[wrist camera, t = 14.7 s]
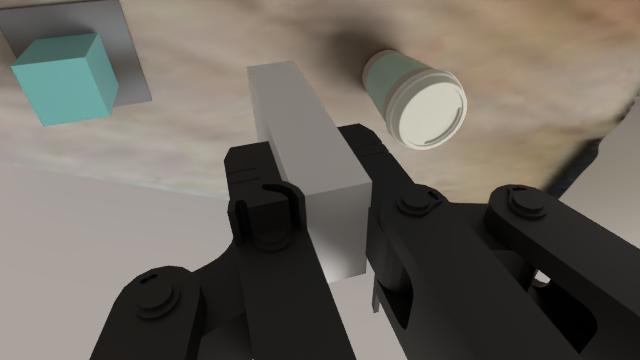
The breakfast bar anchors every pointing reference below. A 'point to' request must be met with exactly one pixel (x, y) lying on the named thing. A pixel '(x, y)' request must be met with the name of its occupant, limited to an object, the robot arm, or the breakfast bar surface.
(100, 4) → the grey square base stand
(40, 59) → the teal rectangular block
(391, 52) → the coffee cup
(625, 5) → the breakfast bar surface
